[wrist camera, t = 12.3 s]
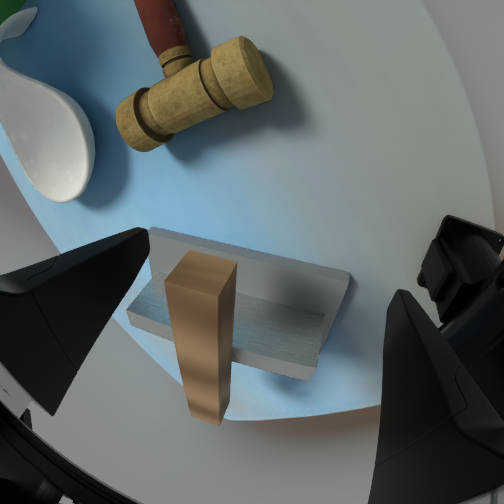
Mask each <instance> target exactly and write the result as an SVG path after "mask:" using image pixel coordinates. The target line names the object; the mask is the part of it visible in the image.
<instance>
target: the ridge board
mask: <svg viewBox="0 0 504 504" xmlns="http://www.w3.org/2000/svg"><path fill="white" fill-rule="evenodd" d="M148 233H149V241H150V253H149V255H148V256H149V263H150V269H151V275H152V278H153V276H154V275H155V274H156V273H157V272H158V271H159V270H160V271H163V272H167V273H171V271H172V270H173V269H174V268H175V266H176V265H177V264H178V263H179V261H180V260H181V259H182V258H183V257H184V255H185V254H186V253H187V252H188V250H192V251H196V252H200V253H204V254H208V255H212V256H216V257H220V258H224V259H228V260H232V261H237V278H236V292H238V293H242V294H245V295H249V296H253V297H257V298H261V299H265V300H269V301H273V302H277V303H281V304H285V305H289V306H293V307H297V308H301V309H305V310H310V311H314V312H318V313H322V314H325V317H324V324H323V331H322V337H321V344H320V350H319V355H320V352H321V350H322V348H323V346H324V343H325V341H326V339H327V336H328V334H329V332H330V329H331V327H332V325H333V322H334V320H335V317H336V315H337V312H338V310H339V307H340V305H341V302H342V300H343V297H344V295H345V292H346V289H347V287H348V284H349V273H348V272H344V271H339V270H335V269H331V268H327V267H322V266H318V265H314V264H310V263H305V262H301V261H297V260H293V259H288V258H284V257H280V256H276V255H271V254H267V253H263V252H258V251H254V250H250V249H246V248H241V247H237V246H233V245H229V244H224V243H220V242H216V241H211V240H207V239H203V238H199V237H194V236H190V235H186V234H181V233H177V232H173V231H169V230H164V229H160V228H156V227H151V228H150V229H149V230H148Z"/></svg>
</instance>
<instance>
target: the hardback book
mask: <svg viewBox="0 0 504 504" xmlns="http://www.w3.org/2000/svg"><path fill="white" fill-rule="evenodd" d="M25 1H26V0H0V25H1V24H2V23H3V22H4V21H5V20H6V19H8V18H9V17H10V16H12V15H14V14H15V13H17V12H18V11H19V10H20V8H21V7H22V5H23V4H24V2H25Z"/></svg>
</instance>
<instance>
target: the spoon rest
mask: <svg viewBox="0 0 504 504" xmlns="http://www.w3.org/2000/svg"><path fill="white" fill-rule="evenodd" d="M37 12H38V8H37V7H33V8H28V9H25V10H22V11H19V12H17V13H15V14H14V15H12V16H10V17H9V18H8V19H6V20H5V21H4V22H3V23H2V24H1V25H0V43H1V41H3V40H5V39H8V38H13V37H19V36H21V35H22V34H23V33H24V32H25V31H26V30H27V28H28V27H29V25H30V24H31V22H32V21H33V20H34V18H35V16H36V15H37ZM0 122H1V124H2V126H3V129H4V131H5V133H6V135H7V138H8V140H9V142H10V144H11V146H12V149H13V151H14V153H15V155H16V157H17V159H18V161H19V163H20V165H21V167H22V169H23V171H24V173H25V174H26V176H27V178H28V179H29V180H30V182H31V183H32V185H33V186H34V187H35V188H36V189H37V190H38V191H39V192H40V193H41V194H42V195H43V196H45V197H46V198H48V199H50V200H52V201H55V202H59V203H65V202H69V201H72V200H74V199H76V198H77V197H79V196H80V195H81V194H82V193H83V191H84V190H85V188H86V187H87V185H88V182H89V180H90V177H91V174H92V171H93V166H94V160H95V140H94V135H93V131H92V127H91V125H90V122H89V120H88V118H87V116H86V114H85V112H84V111H83V109H82V108H81V107H80V105H79V104H78V103H77V102H76V101H75V100H74V99H72V98H71V97H70V96H69V95H67V94H66V93H64V92H62V91H60V90H58V89H56V88H54V87H52V86H50V85H48V84H46V83H44V82H41V81H39V80H36V79H34V78H31V77H28V76H26V75H23V74H21V73H19V72H17V71H15V70H13V69H11V68H10V67H8V66H7V65H6V64H5V63H4V62H3V61H2V59H1V57H0Z"/></svg>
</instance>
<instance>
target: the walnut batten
mask: <svg viewBox="0 0 504 504" xmlns="http://www.w3.org/2000/svg"><path fill="white" fill-rule="evenodd" d="M236 278H237V261H232V260H228V259H224V258H220V257H216V256H212V255H208V254H204V253H200V252H196V251H192V250H188V252H187V253H186V254H185V255H184V257H183V258H182V259H181V260H180V261H179V263H178V264H177V265H176V266H175V268H174V269H173V270H172V271H171V273H170V274H169V275H168V276H167V278H166V279H165V280H164V285H165V291H166V298H167V304H168V310H169V316H170V322H171V327H172V333H173V338H174V343H175V348H176V353H177V358H178V363H179V367H180V372H181V377H182V381H183V385H184V390H185V394H186V398H187V402H188V406H189V409H190V414H191V416H193V417H195V418H198V419H201V420H204V421H206V422H209V423H212V424H215V425H218V426H220V424H221V422H222V419H223V417H224V414H225V412H226V409H227V407H228V404H229V402H230V382H231V363H232V345H233V327H234V310H235V294H236Z"/></svg>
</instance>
